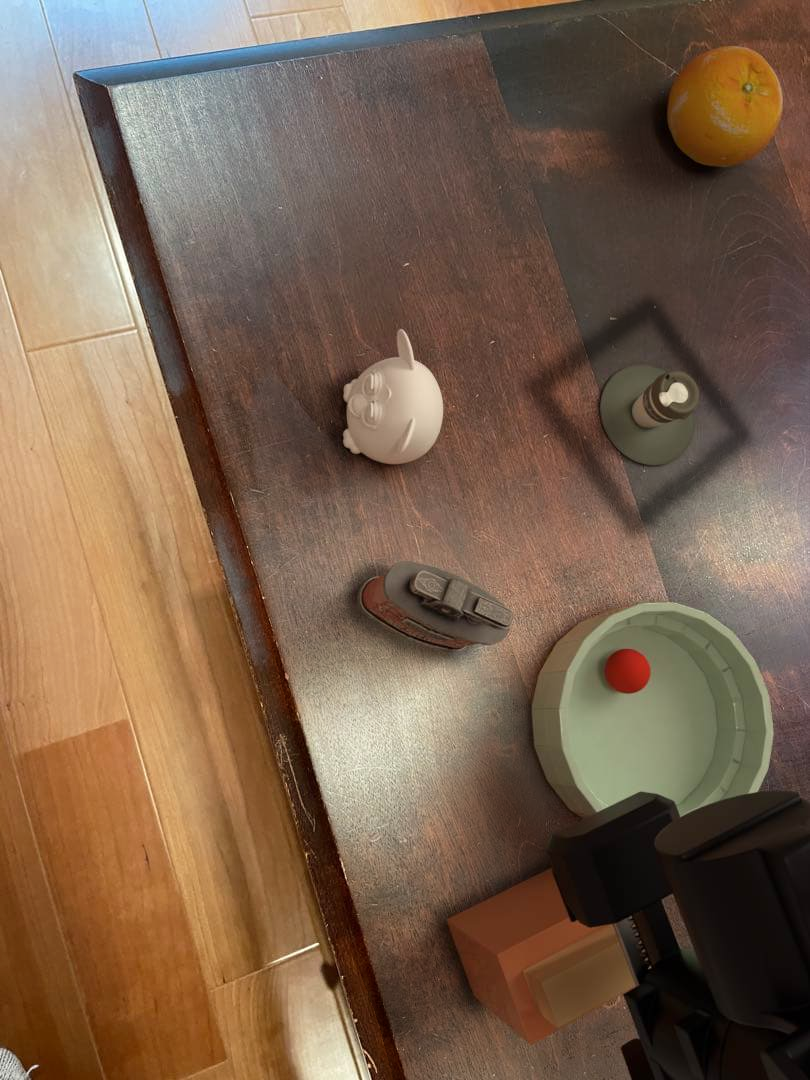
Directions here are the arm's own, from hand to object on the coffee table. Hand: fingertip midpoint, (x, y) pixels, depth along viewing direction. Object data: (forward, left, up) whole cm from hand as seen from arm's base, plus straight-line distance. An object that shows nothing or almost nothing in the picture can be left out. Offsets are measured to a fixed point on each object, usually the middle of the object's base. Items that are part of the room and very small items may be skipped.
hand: (597, 962), depth 50 cm
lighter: (+21, 0, -10) cm, 23 cm away
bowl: (+9, -12, -10) cm, 18 cm away
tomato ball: (+13, -12, -8) cm, 19 cm away
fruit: (+49, -37, -10) cm, 62 cm away
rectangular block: (0, 0, -10) cm, 10 cm away
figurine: (+34, -3, -10) cm, 36 cm away
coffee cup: (+29, -22, -10) cm, 38 cm away
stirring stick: (0, 0, -1) cm, 1 cm away
